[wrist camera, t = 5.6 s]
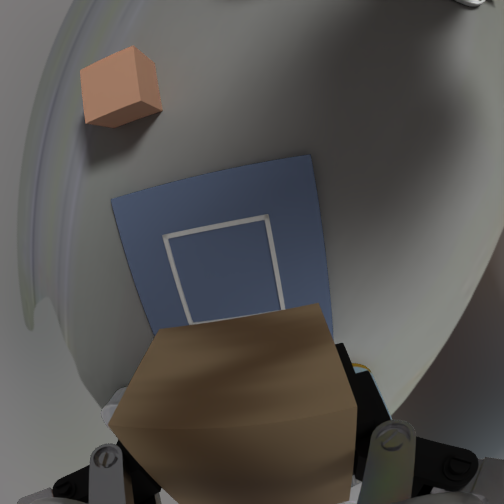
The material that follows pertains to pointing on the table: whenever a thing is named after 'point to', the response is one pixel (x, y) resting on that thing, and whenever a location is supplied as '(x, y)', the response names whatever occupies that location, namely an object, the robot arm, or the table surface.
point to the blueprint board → (227, 244)
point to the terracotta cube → (120, 89)
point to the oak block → (243, 411)
